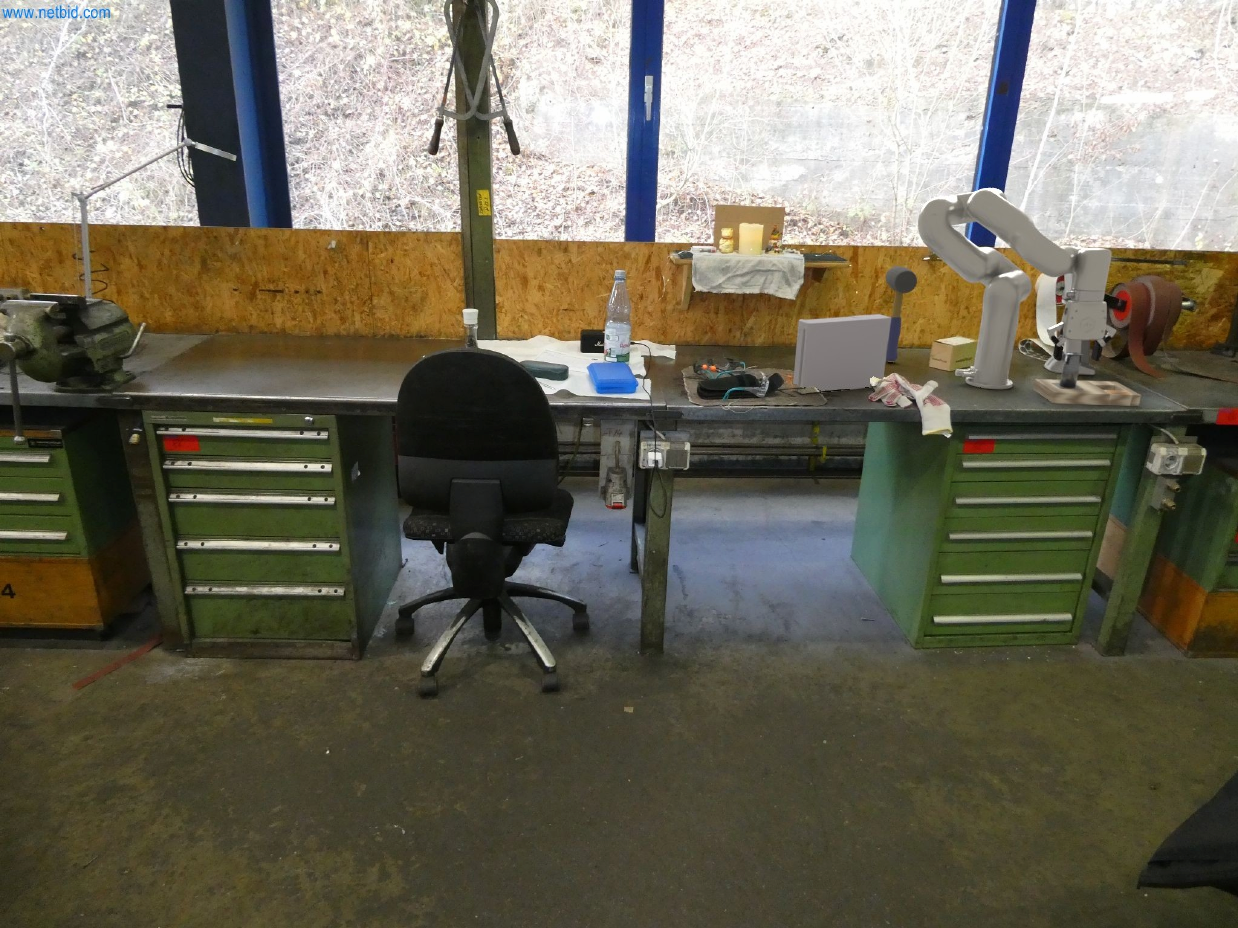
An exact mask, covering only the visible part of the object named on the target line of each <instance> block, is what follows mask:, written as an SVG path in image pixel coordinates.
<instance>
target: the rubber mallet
mask: <svg viewBox="0 0 1238 928" xmlns="http://www.w3.org/2000/svg"><path fill="white" fill-rule="evenodd" d="M885 282H886V284H887V285H888V286H889V287H890V288H891V289H892V290H894V291H895V292H894V296H893V297H894V299H893V305H892V312H891V316H890V317H891V324H890V331H889V339H888V347H887V355H886V361H895V362H896V361H897V359H898V357H899V356H898V347H899V339H900V336H901V330H902V316H901V313H902V307H903V306H902V305H903V300H904V299H903V298H904V294H907V293H910V292H912V291H913V290H914V289H915V288H916V287H917V284H918V276H917V275H916V274H915V272H913V271H912V270H911V269H909V268H907V267H904V266H901V265H897V266H893V267H890V268H889V269H888V271H887V272H886V275H885Z"/></svg>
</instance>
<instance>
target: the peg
mask: <svg viewBox="0 0 1238 928" xmlns="http://www.w3.org/2000/svg"><path fill="white" fill-rule="evenodd" d="M1082 355H1083V354H1080V353H1075V352H1067V353H1066V355H1065V360H1064V365H1063V370H1062V374H1061V373H1060V374H1061V375H1060V379H1059V380H1060V384H1059V385H1060V386H1062V387H1067V388H1075V387H1076V383H1077V380H1078V377H1079V369H1080V364H1081V360H1082Z"/></svg>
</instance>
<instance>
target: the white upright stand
mask: <svg viewBox="0 0 1238 928" xmlns="http://www.w3.org/2000/svg"><path fill="white" fill-rule="evenodd" d="M1074 279H1075V273H1070V274H1065V275H1064V290H1063V293H1062V295H1061V298H1062V299H1061V303H1062V304H1064V306H1065V307H1066V305H1067V303H1068V301H1071V299H1070V297H1067V296H1066V294H1067V292H1071V291H1072V289H1073V284H1074ZM1065 307H1064V308H1065ZM1063 347H1064V348H1063V354H1062V360H1061V361H1057V360H1056V359H1054V357H1053V355H1051V356H1050V357H1049V358H1048V359H1047V360H1046V361H1045V364H1043V367H1044V368H1045V369H1046V370H1047V371H1048V372H1052V373H1055V374H1062V370H1063V365H1064V360H1065V355H1066V353H1067V352H1075V353H1080V354H1083V355H1082V360H1081V364H1080V369H1079V374H1078V376H1080V375H1081V376H1094V375H1096V370H1095V369H1096V368H1095V367H1094V366H1093V365H1091V364H1090V356H1091V355H1090V354H1091V353H1090V351H1091V340H1067V341H1066V342H1065V343H1063Z"/></svg>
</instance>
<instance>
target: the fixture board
mask: <svg viewBox="0 0 1238 928" xmlns="http://www.w3.org/2000/svg"><path fill="white" fill-rule="evenodd" d="M1059 384H1060V379H1050V378H1049V379H1046V378H1034V382H1033V387H1032V390H1033V391H1035V392H1036V393H1037V394H1039V395H1041V396H1042V397H1043V398H1044V399H1046V400H1047V399H1048V400H1047V401H1048V402H1050V403H1052V404H1068V405H1069V404H1070V405H1071V404H1072V405H1093V406H1094V405H1095V406H1097V405H1098V406H1122V407H1123V406H1125V407H1126V406H1127V407H1139V406H1140V401H1141V398H1142V394H1140V393H1139V392H1138V393H1137V392H1136V391H1134V390H1133V389H1131V388H1129V387H1128V386H1125V385H1123V384H1122V383H1119V382H1118V381H1108V380H1106V381H1105V380H1078V379H1077V383H1076V387H1075V388H1067V387H1062V386H1060V385H1059Z"/></svg>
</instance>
